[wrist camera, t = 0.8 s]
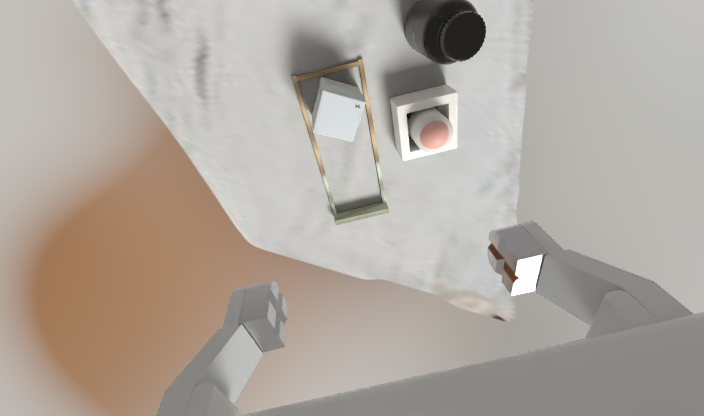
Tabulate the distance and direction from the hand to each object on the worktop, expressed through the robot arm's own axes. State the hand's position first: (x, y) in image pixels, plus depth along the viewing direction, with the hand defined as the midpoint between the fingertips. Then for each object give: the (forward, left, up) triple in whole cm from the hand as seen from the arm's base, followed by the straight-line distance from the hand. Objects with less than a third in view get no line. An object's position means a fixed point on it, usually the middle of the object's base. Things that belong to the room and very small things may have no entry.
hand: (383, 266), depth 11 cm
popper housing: (+12, +13, -39) cm, 43 cm away
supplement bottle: (-1, +15, -40) cm, 42 cm away
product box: (+6, 0, -40) cm, 40 cm away
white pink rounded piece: (+12, +13, -37) cm, 41 cm away
